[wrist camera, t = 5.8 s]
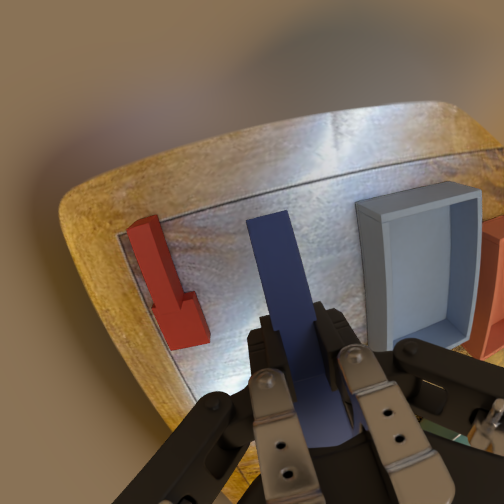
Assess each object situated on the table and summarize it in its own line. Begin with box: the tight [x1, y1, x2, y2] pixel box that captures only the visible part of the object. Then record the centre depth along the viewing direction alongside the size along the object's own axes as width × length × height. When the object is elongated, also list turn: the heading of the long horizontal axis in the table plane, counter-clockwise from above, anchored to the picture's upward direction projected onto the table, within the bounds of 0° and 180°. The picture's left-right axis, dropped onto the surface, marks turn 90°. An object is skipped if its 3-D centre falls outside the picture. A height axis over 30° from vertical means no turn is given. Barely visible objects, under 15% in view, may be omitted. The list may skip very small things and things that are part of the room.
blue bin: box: [355, 181, 482, 352], centre depth 23 cm, size 15×10×4 cm
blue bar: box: [246, 210, 352, 448], centre depth 13 cm, size 11×4×3 cm, turn 14°
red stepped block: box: [126, 215, 210, 351], centre depth 23 cm, size 11×4×3 cm, turn 14°
